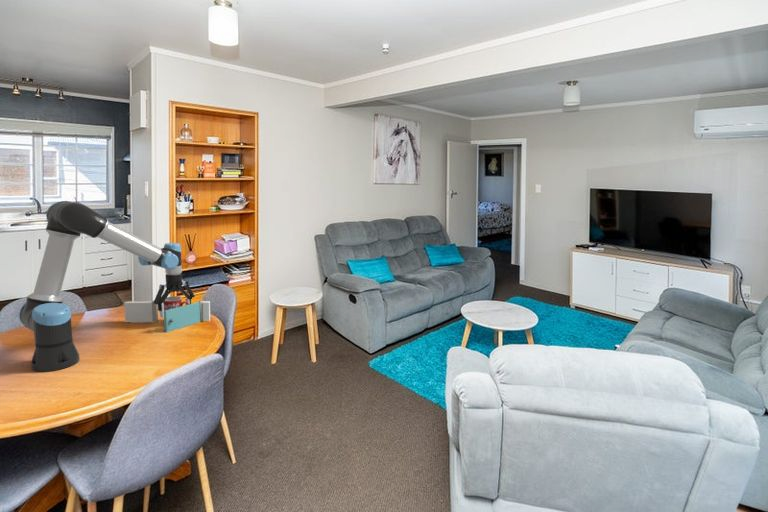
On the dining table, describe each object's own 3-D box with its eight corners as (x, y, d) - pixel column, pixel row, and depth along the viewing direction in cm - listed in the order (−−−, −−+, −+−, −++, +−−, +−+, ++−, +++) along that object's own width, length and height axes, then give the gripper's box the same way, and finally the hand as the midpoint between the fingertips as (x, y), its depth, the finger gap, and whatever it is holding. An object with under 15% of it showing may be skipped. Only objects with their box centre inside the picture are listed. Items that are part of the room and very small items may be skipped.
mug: (160, 326, 215) (159, 300, 213) (167, 321, 224) (165, 296, 222) (187, 326, 217) (186, 300, 215) (192, 320, 226) (191, 296, 224)
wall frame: (209, 321, 226) (208, 301, 224) (125, 322, 219) (124, 301, 218) (210, 320, 228) (209, 300, 226) (127, 321, 221) (126, 300, 220)
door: (202, 322, 224) (201, 303, 222) (169, 332, 207) (168, 312, 206) (197, 321, 225) (197, 302, 224) (164, 331, 209) (163, 310, 207)
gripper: (192, 269, 229) (194, 307, 232) (144, 275, 208) (146, 317, 212) (200, 271, 224) (201, 310, 228) (152, 278, 204) (154, 321, 208)
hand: (175, 313), depth 220 cm, fingers open, 13 cm apart
